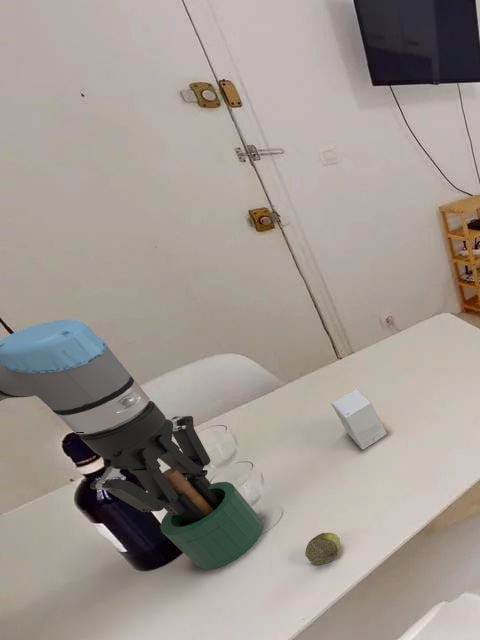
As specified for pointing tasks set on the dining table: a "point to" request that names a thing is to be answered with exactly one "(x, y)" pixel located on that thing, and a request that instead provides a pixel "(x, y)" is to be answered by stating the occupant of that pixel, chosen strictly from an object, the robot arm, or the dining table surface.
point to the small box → (359, 418)
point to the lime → (323, 548)
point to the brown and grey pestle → (187, 489)
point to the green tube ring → (216, 529)
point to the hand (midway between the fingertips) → (203, 511)
